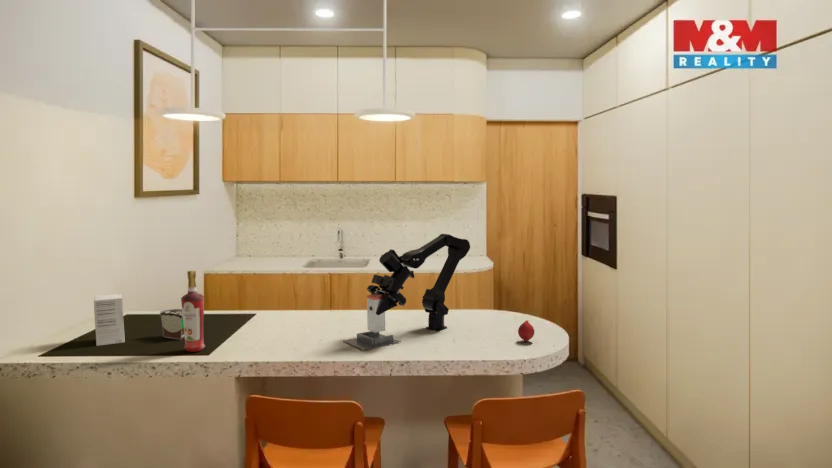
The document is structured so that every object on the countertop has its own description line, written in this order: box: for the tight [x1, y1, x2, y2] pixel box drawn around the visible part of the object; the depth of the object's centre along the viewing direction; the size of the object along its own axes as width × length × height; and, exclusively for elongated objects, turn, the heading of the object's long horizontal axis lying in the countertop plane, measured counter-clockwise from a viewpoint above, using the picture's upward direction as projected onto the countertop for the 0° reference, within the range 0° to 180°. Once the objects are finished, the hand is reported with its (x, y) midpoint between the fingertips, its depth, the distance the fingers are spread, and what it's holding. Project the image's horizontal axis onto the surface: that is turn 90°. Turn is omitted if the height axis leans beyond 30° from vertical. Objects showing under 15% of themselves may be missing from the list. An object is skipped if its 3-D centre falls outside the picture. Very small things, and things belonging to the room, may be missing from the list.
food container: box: [159, 308, 185, 341], centre depth 209 cm, size 12×6×10 cm, turn 65°
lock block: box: [366, 294, 386, 333], centre depth 200 cm, size 5×5×13 cm
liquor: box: [180, 270, 206, 353], centre depth 190 cm, size 7×7×28 cm
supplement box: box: [93, 293, 126, 347], centre depth 202 cm, size 10×9×17 cm
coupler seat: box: [342, 330, 401, 352], centre depth 200 cm, size 16×14×3 cm
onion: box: [517, 319, 535, 342], centre depth 199 cm, size 6×6×8 cm
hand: (373, 313), depth 200 cm, fingers closed on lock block, 5 cm apart
